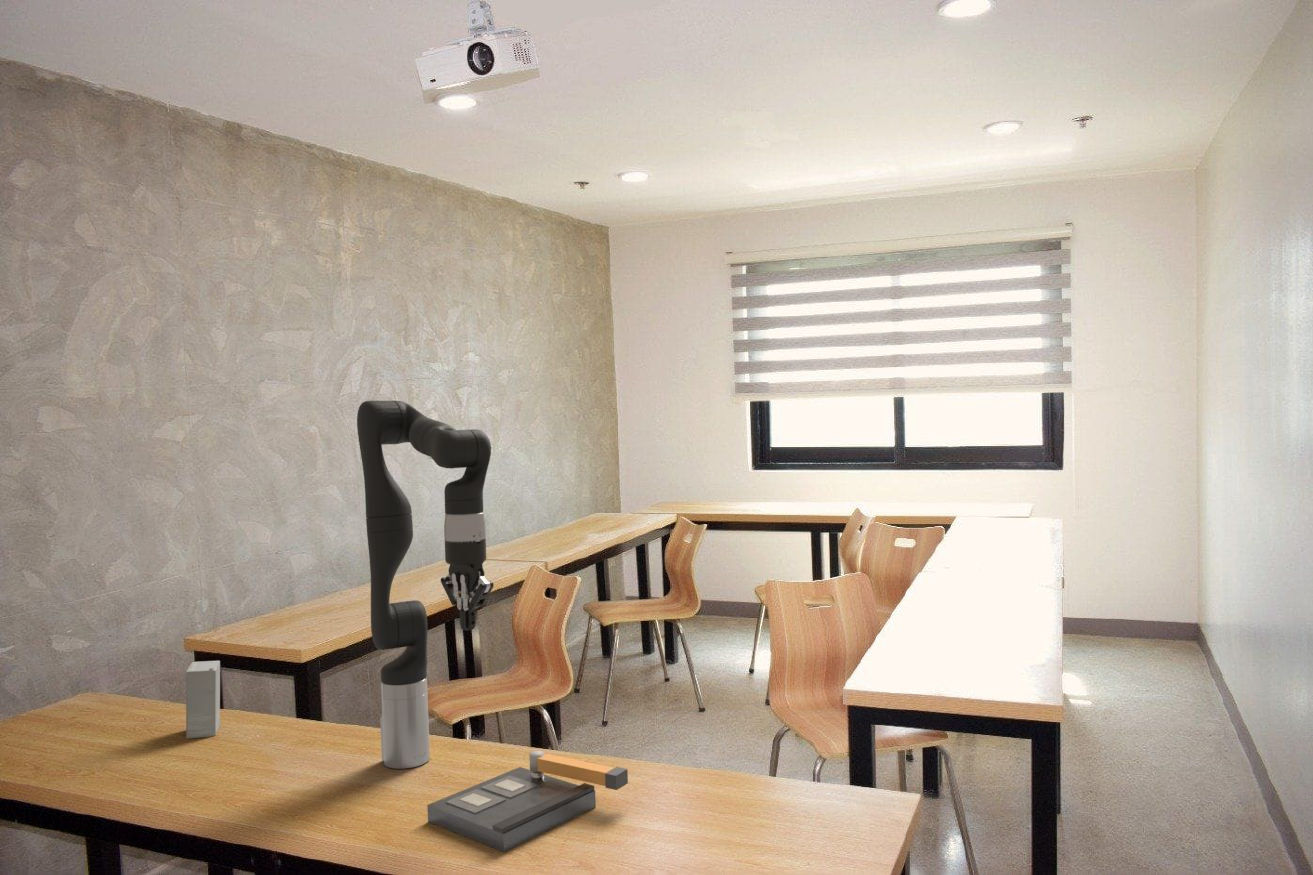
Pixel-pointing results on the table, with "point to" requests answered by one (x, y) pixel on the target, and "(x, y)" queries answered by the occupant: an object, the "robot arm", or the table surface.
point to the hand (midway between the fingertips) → (468, 629)
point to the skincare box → (202, 699)
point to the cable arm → (578, 770)
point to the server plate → (511, 808)
